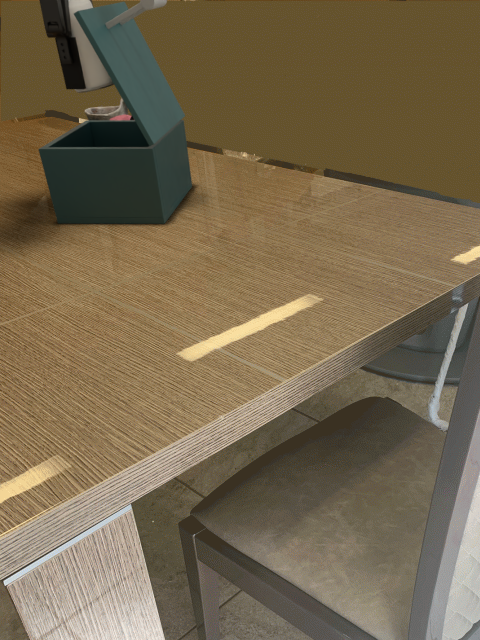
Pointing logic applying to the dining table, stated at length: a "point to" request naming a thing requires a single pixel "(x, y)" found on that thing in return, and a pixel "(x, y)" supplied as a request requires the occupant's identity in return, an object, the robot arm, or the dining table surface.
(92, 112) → the mug
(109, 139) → the cooler
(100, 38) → the cooler lid
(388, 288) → the dining table surface
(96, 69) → the can
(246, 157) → the dining table surface
